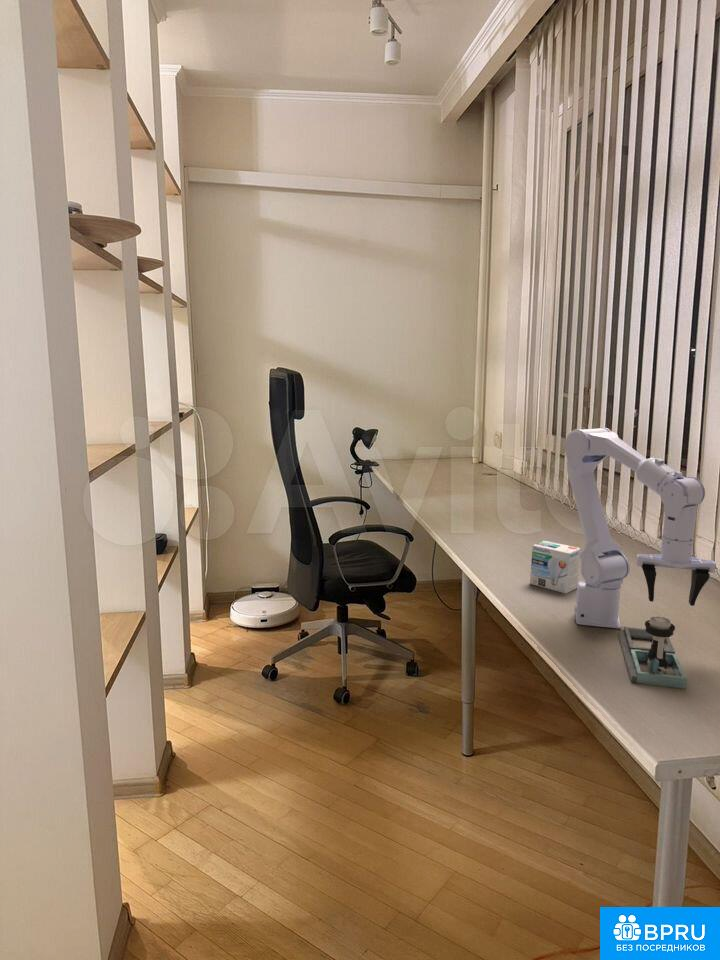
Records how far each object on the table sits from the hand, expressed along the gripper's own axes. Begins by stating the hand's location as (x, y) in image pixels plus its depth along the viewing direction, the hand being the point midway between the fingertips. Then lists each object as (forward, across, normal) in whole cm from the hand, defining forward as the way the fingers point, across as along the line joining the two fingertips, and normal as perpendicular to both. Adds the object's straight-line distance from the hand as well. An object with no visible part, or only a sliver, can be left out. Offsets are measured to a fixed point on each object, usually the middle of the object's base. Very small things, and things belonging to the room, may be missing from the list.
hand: (671, 601), depth 142 cm
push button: (+10, -3, -11) cm, 16 cm away
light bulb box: (+11, -22, +34) cm, 42 cm away
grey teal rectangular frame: (+10, -4, -6) cm, 13 cm away
